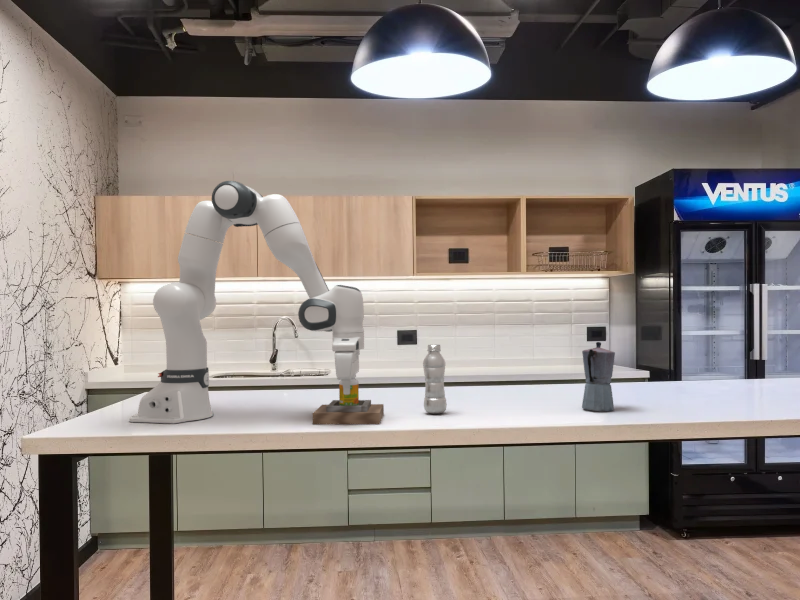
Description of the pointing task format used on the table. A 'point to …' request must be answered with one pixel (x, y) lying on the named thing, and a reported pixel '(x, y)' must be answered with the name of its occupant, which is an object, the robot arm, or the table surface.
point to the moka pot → (598, 379)
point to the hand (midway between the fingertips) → (348, 392)
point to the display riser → (349, 413)
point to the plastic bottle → (434, 381)
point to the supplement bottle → (353, 396)
